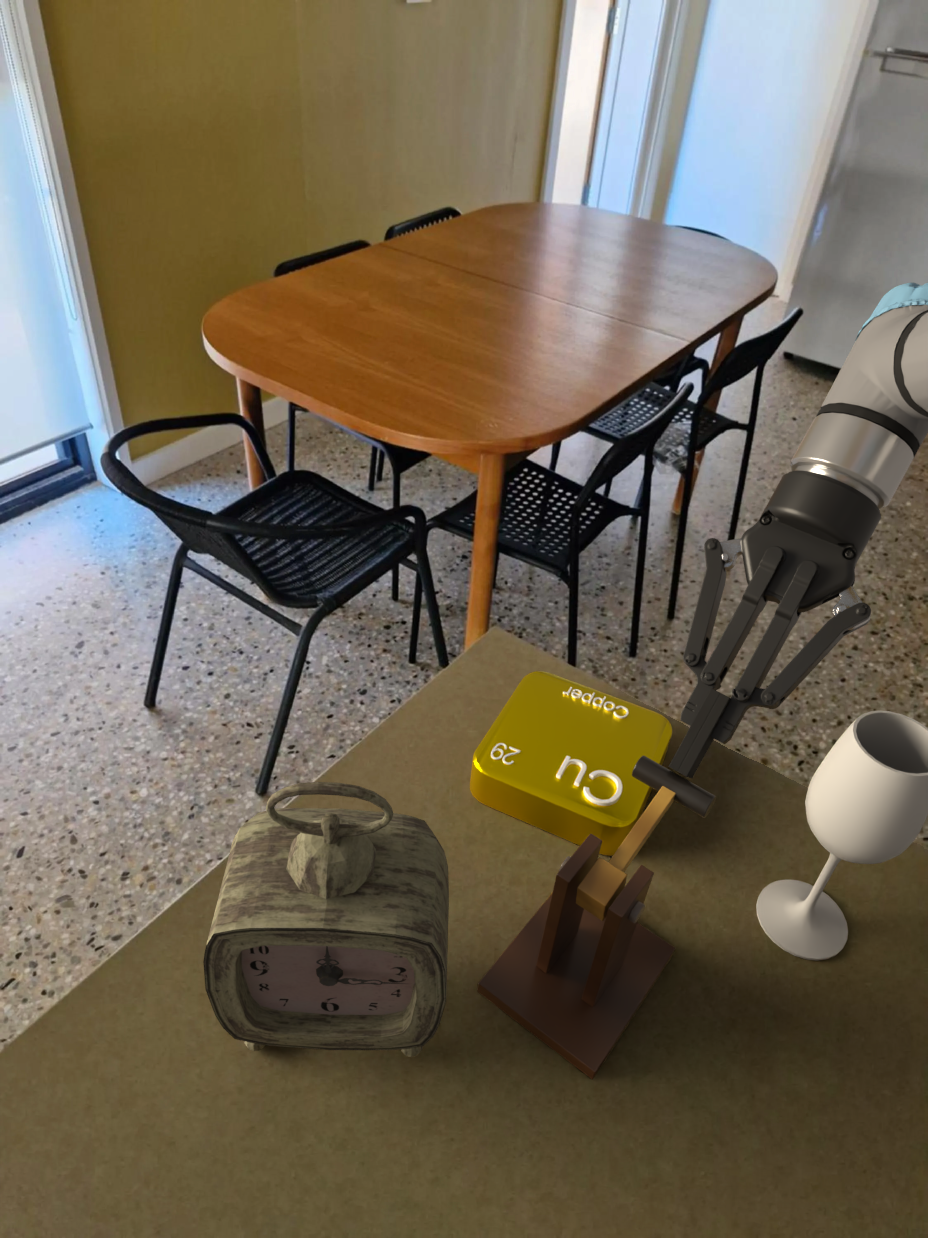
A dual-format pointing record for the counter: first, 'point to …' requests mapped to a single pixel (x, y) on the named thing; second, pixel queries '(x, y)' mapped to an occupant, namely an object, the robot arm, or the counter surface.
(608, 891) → the lever
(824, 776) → the wineglass
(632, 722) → the element tile
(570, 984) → the wooden lever stand
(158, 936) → the counter surface
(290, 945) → the tabletop clock
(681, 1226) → the counter surface
